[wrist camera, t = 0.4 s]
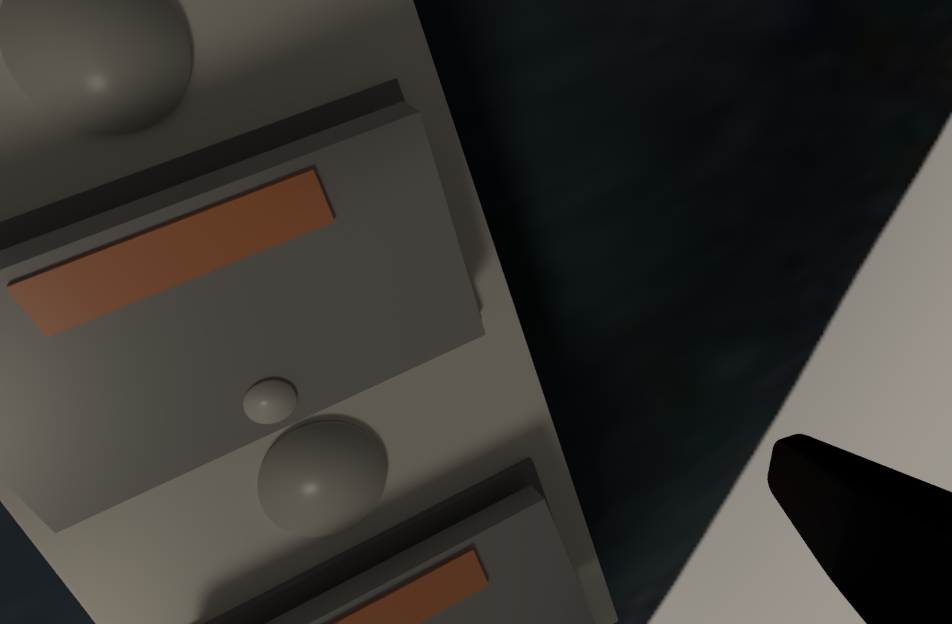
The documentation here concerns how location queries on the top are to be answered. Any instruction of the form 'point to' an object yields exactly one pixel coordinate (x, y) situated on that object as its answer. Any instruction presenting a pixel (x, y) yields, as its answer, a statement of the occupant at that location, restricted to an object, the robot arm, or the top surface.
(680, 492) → the top surface
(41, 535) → the double rocker switch panel
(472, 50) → the top surface
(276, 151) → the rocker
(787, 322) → the top surface
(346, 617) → the dark grey rectangular block
